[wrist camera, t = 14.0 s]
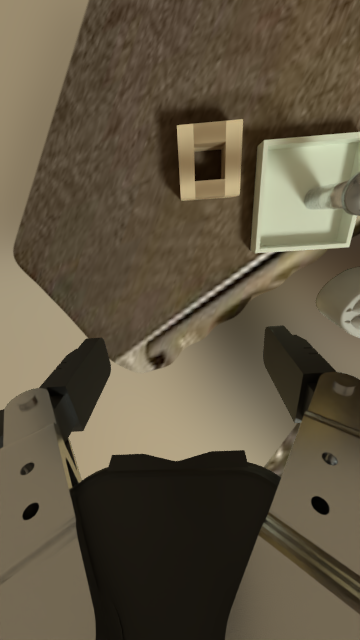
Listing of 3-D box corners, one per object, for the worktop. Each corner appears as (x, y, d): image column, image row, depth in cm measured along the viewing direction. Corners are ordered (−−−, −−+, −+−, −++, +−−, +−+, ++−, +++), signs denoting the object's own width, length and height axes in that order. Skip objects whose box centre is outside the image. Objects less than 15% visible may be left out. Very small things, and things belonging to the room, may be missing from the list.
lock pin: (302, 182, 32) (353, 169, 23) (333, 180, 32) (398, 165, 22) (297, 215, 34) (342, 216, 24) (326, 214, 34) (384, 214, 24)
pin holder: (177, 135, 31) (176, 125, 27) (236, 130, 31) (242, 119, 27) (181, 200, 34) (180, 199, 31) (233, 196, 34) (239, 194, 30)
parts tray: (257, 146, 31) (264, 140, 28) (361, 137, 30) (378, 130, 28) (250, 250, 37) (255, 253, 34) (337, 244, 36) (349, 247, 34)
